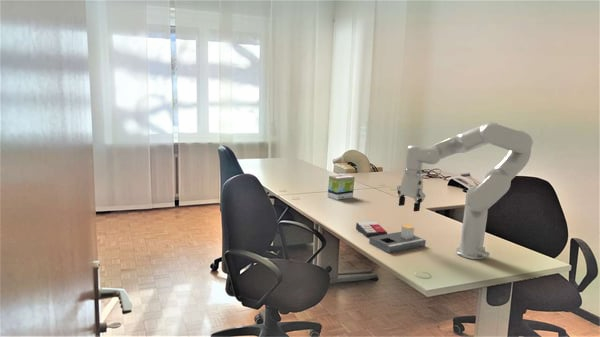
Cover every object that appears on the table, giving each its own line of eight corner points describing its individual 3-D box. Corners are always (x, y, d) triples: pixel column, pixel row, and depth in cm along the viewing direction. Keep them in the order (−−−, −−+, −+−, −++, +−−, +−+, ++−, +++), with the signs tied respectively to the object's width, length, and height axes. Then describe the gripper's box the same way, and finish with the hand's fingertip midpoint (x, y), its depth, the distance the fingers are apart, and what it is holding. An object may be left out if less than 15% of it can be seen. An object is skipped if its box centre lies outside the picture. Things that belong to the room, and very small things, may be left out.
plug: (412, 243, 200) (414, 227, 198) (406, 245, 198) (407, 228, 196) (406, 241, 203) (408, 225, 202) (400, 242, 201) (401, 226, 200)
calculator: (367, 232, 205) (356, 221, 219) (366, 240, 206) (355, 229, 220) (388, 231, 207) (376, 220, 222) (387, 239, 208) (375, 228, 223)
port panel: (425, 247, 197) (425, 240, 196) (389, 254, 186) (390, 246, 185) (403, 237, 209) (404, 230, 208) (369, 244, 198) (369, 236, 197)
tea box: (337, 200, 276) (338, 178, 274) (327, 197, 284) (328, 175, 281) (353, 197, 286) (355, 176, 283) (343, 194, 293) (344, 173, 291)
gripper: (433, 175, 189) (428, 212, 192) (405, 168, 203) (401, 202, 207) (420, 176, 185) (416, 214, 188) (393, 169, 200) (390, 204, 203)
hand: (408, 208), depth 197 cm, fingers open, 9 cm apart
